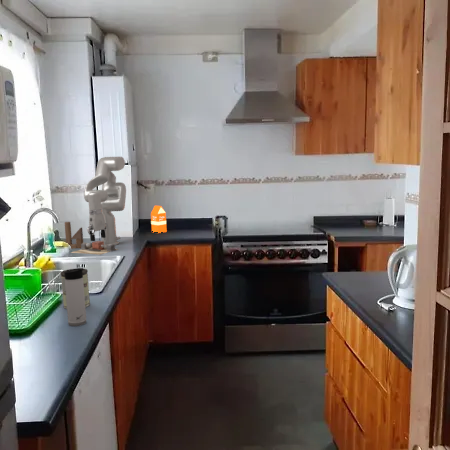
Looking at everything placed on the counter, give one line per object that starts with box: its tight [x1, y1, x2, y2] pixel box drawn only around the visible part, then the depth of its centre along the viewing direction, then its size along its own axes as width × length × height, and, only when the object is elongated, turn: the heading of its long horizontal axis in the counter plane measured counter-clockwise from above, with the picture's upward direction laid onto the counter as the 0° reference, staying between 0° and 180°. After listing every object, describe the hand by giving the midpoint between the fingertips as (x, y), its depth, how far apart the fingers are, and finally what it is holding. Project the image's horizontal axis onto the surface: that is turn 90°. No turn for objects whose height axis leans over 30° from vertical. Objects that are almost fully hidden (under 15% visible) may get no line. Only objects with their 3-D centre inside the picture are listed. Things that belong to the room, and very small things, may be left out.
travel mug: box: [64, 267, 87, 327], centre depth 184 cm, size 6×7×20 cm
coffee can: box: [59, 268, 91, 310], centre depth 206 cm, size 10×10×14 cm
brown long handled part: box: [64, 221, 84, 250], centre depth 330 cm, size 4×11×18 cm, turn 87°
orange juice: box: [150, 205, 168, 234], centre depth 393 cm, size 8×9×20 cm
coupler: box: [91, 240, 104, 250], centre depth 322 cm, size 5×8×5 cm, turn 63°
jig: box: [70, 242, 119, 256], centre depth 319 cm, size 18×23×5 cm
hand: (98, 239), depth 322 cm, fingers open, 9 cm apart
